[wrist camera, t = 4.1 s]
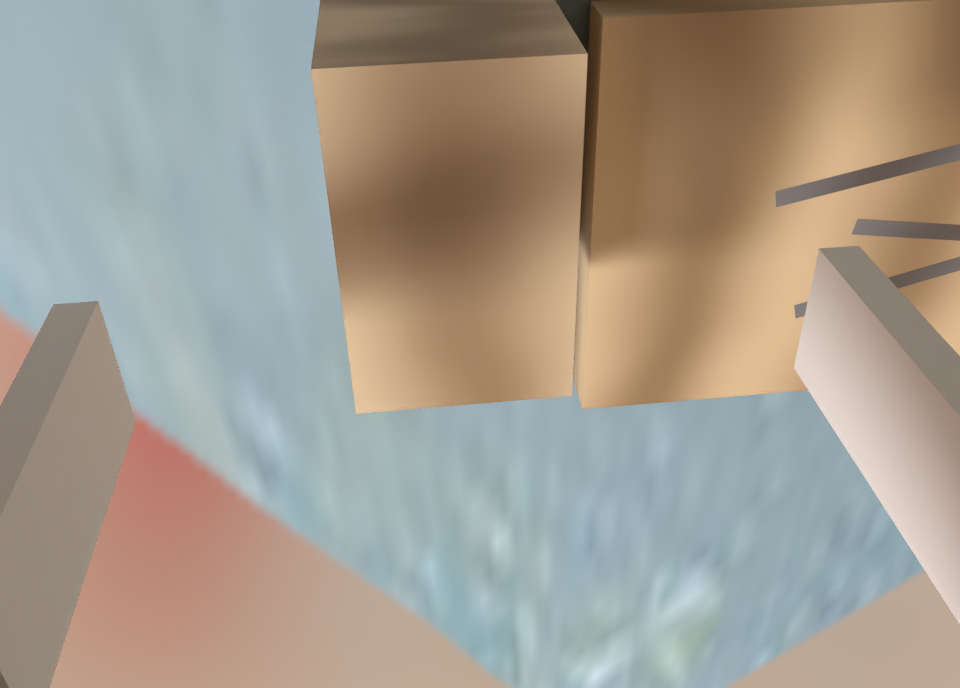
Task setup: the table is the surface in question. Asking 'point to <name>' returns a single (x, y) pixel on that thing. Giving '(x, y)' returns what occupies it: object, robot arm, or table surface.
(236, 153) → the table surface
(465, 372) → the block
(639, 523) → the table surface
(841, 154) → the board
